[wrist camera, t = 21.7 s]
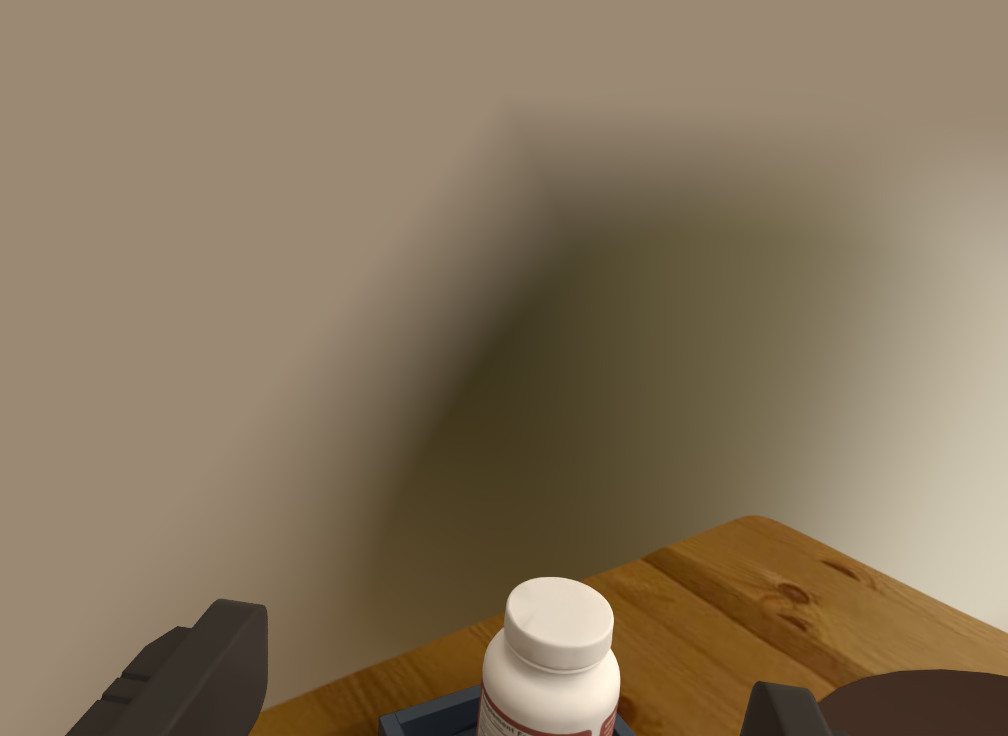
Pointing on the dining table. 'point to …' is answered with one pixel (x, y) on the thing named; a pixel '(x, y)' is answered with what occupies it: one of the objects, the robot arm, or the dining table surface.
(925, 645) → the dining table surface
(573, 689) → the pill bottle
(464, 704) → the tray
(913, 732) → the plate
